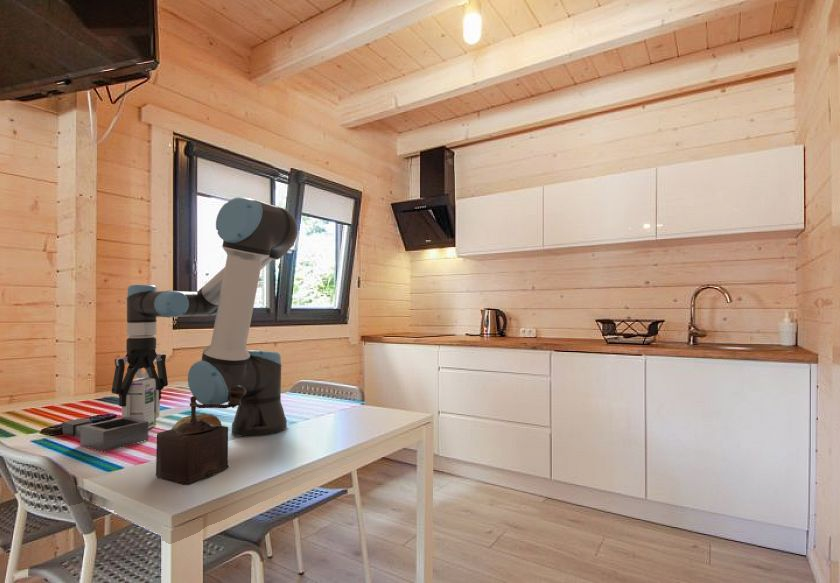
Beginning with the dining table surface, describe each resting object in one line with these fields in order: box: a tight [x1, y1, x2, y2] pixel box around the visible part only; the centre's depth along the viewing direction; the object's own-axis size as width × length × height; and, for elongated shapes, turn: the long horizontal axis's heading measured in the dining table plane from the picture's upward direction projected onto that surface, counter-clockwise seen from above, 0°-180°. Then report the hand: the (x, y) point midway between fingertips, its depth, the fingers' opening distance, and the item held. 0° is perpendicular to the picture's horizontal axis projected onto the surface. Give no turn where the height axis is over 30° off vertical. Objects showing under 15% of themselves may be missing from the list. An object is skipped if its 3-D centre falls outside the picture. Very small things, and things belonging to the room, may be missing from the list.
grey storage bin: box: [61, 416, 149, 453], centre depth 122 cm, size 28×11×5 cm, turn 61°
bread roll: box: [171, 413, 223, 429], centre depth 116 cm, size 10×15×8 cm, turn 157°
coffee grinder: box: [155, 385, 246, 486], centre depth 99 cm, size 16×11×18 cm
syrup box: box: [127, 378, 157, 430], centre depth 132 cm, size 6×6×14 cm
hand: (140, 414), depth 132 cm, fingers closed on syrup box, 8 cm apart
